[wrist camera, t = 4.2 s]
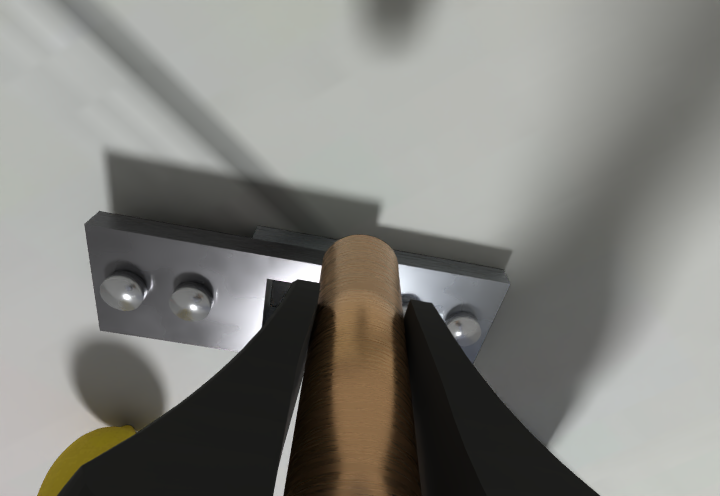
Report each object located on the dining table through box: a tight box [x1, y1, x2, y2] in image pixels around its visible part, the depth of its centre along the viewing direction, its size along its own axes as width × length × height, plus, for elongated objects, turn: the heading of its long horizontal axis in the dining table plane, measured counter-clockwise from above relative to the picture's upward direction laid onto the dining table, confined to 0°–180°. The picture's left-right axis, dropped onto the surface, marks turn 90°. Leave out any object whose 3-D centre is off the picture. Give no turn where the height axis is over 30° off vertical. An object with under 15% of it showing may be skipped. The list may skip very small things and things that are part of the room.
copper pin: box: [283, 235, 422, 496], centre depth 10 cm, size 2×2×8 cm
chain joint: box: [84, 211, 510, 364], centre depth 21 cm, size 19×6×3 cm, turn 79°
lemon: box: [37, 425, 136, 496], centre depth 26 cm, size 6×6×8 cm
